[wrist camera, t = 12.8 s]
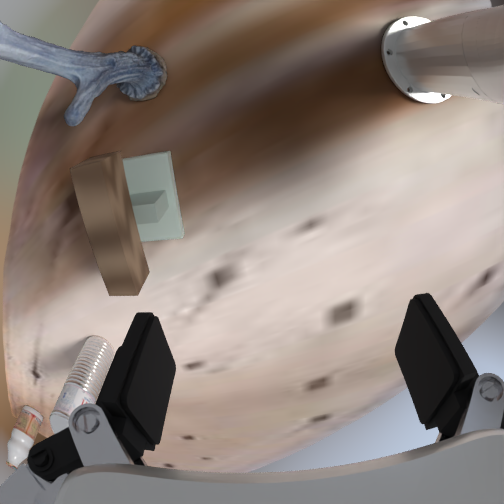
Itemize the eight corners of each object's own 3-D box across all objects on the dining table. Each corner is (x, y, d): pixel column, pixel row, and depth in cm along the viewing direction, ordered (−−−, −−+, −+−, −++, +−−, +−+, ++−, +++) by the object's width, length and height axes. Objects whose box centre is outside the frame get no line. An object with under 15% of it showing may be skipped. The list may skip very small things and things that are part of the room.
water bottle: (89, 329, 53) (40, 431, 31) (118, 344, 55) (77, 450, 33) (85, 347, 56) (42, 441, 34) (112, 361, 58) (76, 458, 36)
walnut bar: (91, 157, 30) (69, 168, 26) (120, 150, 30) (100, 161, 26) (123, 273, 38) (109, 295, 34) (149, 272, 38) (137, 295, 34)
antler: (179, 69, 31) (61, 46, 10) (141, 117, 34) (3, 169, 12) (117, 26, 27) (-24, -9, 6) (83, 73, 30) (-66, 90, 9)
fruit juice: (46, 417, 81) (24, 474, 57) (40, 419, 84) (19, 472, 60) (27, 403, 77) (2, 460, 53) (21, 406, 80) (-2, 459, 56)
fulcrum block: (170, 150, 36) (154, 162, 31) (184, 233, 42) (174, 257, 37) (92, 165, 37) (68, 178, 31) (111, 239, 43) (93, 262, 37)
